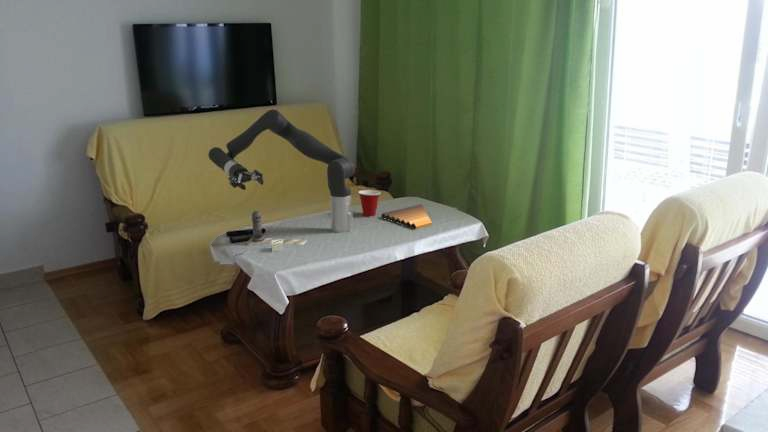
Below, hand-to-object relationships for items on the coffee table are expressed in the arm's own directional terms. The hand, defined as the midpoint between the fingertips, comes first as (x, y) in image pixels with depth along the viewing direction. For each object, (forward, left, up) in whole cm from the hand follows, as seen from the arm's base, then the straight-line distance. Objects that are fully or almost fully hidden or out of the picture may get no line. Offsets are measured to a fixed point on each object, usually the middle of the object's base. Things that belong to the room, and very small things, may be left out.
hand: (253, 185), depth 266 cm
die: (-16, +20, -23) cm, 34 cm away
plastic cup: (-44, -38, -23) cm, 63 cm away
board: (-13, +10, -23) cm, 28 cm away
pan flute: (-68, -35, -23) cm, 80 cm away
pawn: (-4, +10, -21) cm, 24 cm away
